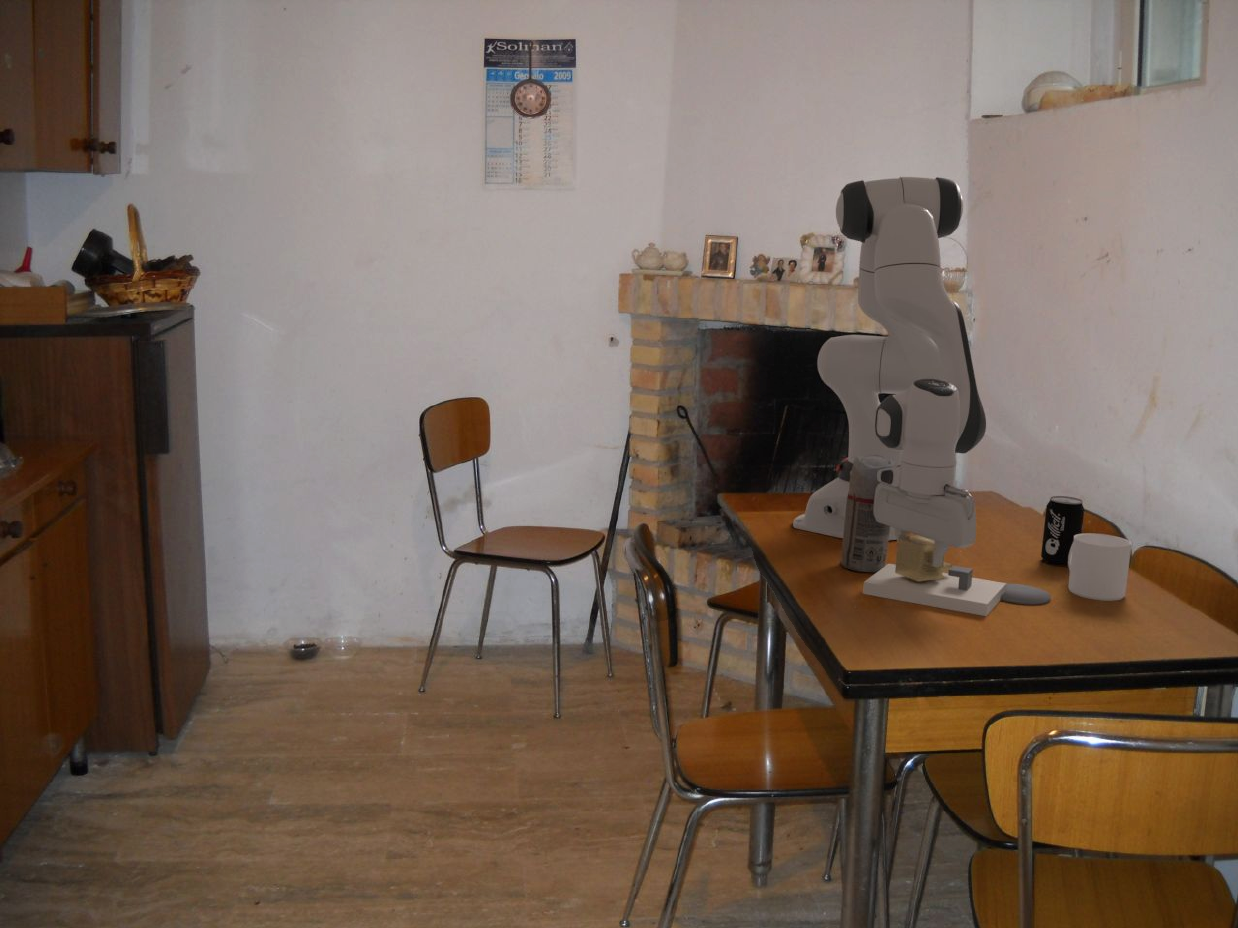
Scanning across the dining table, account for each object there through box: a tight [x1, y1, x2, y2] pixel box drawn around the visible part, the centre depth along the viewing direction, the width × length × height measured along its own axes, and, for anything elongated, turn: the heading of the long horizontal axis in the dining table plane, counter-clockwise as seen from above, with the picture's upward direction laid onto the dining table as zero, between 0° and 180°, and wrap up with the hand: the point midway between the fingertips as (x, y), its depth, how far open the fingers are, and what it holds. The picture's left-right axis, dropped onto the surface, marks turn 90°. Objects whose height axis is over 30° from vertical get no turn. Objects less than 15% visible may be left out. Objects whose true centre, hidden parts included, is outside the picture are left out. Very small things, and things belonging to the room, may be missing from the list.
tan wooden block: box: [895, 534, 953, 582], centre depth 201 cm, size 9×5×6 cm, turn 121°
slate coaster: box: [1000, 582, 1052, 606], centre depth 200 cm, size 10×10×1 cm
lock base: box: [862, 563, 1007, 617], centre depth 199 cm, size 20×14×7 cm
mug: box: [1067, 532, 1132, 602], centre depth 204 cm, size 12×9×9 cm
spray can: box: [839, 454, 896, 573], centre depth 212 cm, size 8×8×20 cm
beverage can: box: [1040, 495, 1085, 567], centre depth 222 cm, size 7×7×12 cm
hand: (919, 560), depth 200 cm, fingers closed on tan wooden block, 5 cm apart
